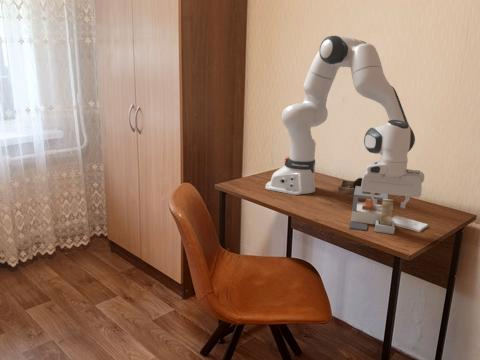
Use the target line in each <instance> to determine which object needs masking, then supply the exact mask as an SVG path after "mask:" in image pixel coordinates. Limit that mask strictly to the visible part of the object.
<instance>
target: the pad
mask: <svg viewBox="0 0 480 360" xmlns="http://www.w3.org/2000/svg"><path fill="white" fill-rule="evenodd" d="M349 229H350V230H356V231H363V232H364V231H365V232H367V230H368V223H360V222H353V221H350V223H349Z"/></svg>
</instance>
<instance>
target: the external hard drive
mask: <svg viewBox="0 0 480 360" xmlns="http://www.w3.org/2000/svg"><path fill="white" fill-rule="evenodd" d="M391 221H395V226H397V227H401V228H404V229H407V230H410V231H411V230H412V231H415V232H418V233H420V232H422V231H423V230H425V229H427V228H428V227H429V224H428V223H424V222H421V221H417V220H414V219H411V218H407V217H403V216H400V215H394V216H392V217H391Z"/></svg>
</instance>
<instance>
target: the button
mask: <svg viewBox="0 0 480 360" xmlns="http://www.w3.org/2000/svg"><path fill="white" fill-rule="evenodd" d="M364 203H365V206H364V208H365V209H368V210H374V206H375V205H373V200H372V199H366V198H364Z"/></svg>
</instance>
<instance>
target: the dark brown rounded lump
mask: <svg viewBox="0 0 480 360" xmlns="http://www.w3.org/2000/svg"><path fill="white" fill-rule="evenodd" d="M362 179H363V177H358V178H357V179H354V181H355V182H354V185H353V186H347V188H353V189H355V187H356V186H361V183H362Z"/></svg>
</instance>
